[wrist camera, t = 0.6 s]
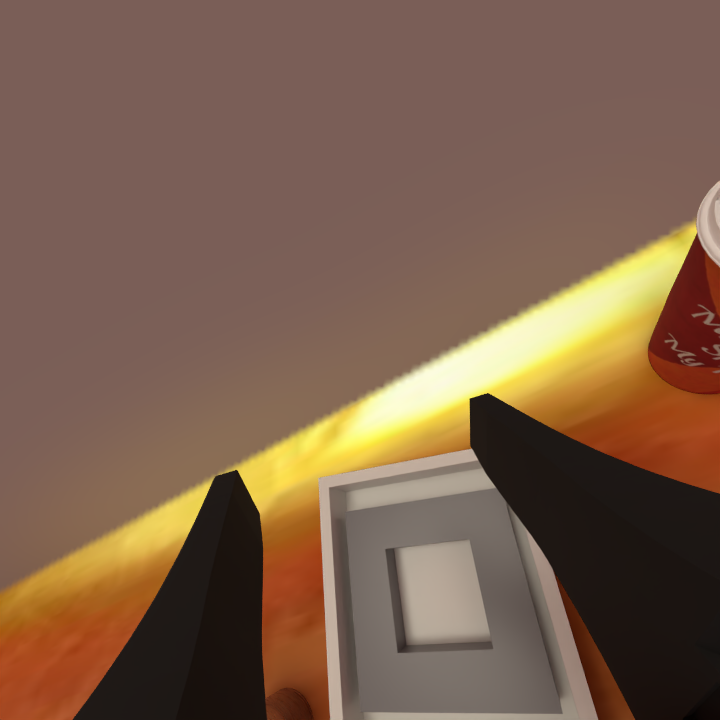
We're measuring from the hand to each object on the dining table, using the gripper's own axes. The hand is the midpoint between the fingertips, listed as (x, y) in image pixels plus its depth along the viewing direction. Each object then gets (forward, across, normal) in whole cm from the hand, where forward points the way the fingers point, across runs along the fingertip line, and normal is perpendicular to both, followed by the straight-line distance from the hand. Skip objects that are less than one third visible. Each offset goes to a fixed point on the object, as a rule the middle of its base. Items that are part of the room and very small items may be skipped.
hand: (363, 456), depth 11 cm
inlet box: (+4, -3, +19) cm, 19 cm away
